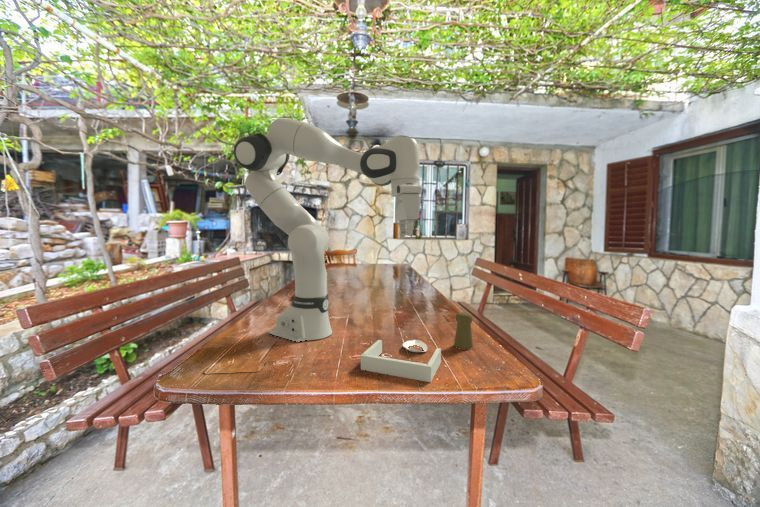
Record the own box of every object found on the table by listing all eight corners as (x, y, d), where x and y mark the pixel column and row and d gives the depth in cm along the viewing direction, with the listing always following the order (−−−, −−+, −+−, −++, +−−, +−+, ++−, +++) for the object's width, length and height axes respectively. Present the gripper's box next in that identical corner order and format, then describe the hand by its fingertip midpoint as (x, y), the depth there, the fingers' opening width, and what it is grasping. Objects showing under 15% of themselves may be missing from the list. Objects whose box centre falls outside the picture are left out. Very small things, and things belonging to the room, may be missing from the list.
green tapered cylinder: (473, 350, 101) (474, 316, 100) (454, 349, 102) (454, 314, 101) (472, 343, 107) (473, 310, 106) (453, 342, 108) (454, 309, 107)
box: (360, 369, 88) (360, 355, 87) (378, 352, 100) (378, 339, 99) (430, 382, 81) (431, 366, 80) (440, 362, 93) (441, 348, 92)
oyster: (400, 354, 97) (401, 346, 97) (403, 343, 109) (404, 335, 109) (426, 358, 96) (427, 349, 96) (427, 346, 108) (428, 338, 108)
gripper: (390, 194, 111) (391, 234, 112) (401, 186, 90) (402, 235, 91) (408, 193, 111) (409, 234, 112) (423, 185, 91) (424, 235, 92)
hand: (406, 235), depth 102 cm, fingers open, 8 cm apart
